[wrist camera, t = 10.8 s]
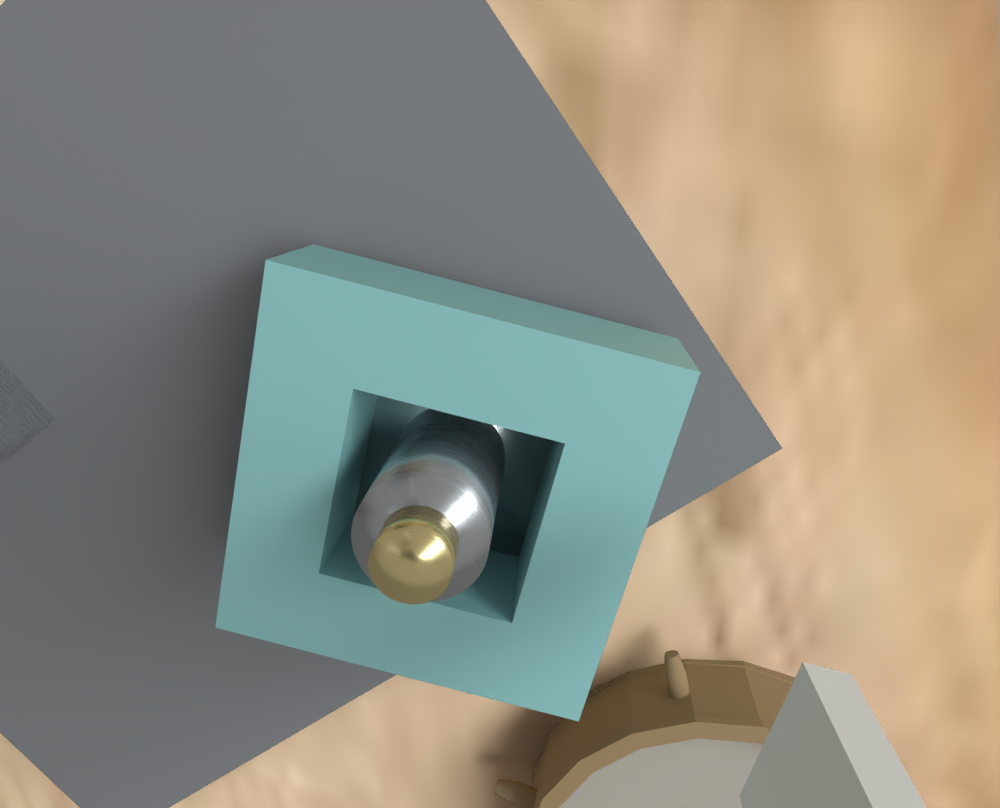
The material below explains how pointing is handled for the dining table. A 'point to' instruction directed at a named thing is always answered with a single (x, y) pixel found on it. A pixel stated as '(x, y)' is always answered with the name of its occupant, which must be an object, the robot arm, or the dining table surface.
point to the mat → (248, 328)
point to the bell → (441, 499)
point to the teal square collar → (466, 393)
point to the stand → (18, 414)
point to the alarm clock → (659, 739)
